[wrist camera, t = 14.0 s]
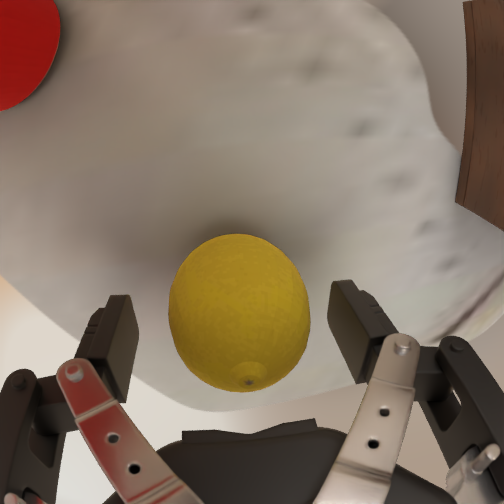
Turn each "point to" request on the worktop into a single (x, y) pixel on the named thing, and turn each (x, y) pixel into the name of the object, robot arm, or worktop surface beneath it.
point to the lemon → (239, 313)
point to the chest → (484, 112)
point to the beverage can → (26, 47)
